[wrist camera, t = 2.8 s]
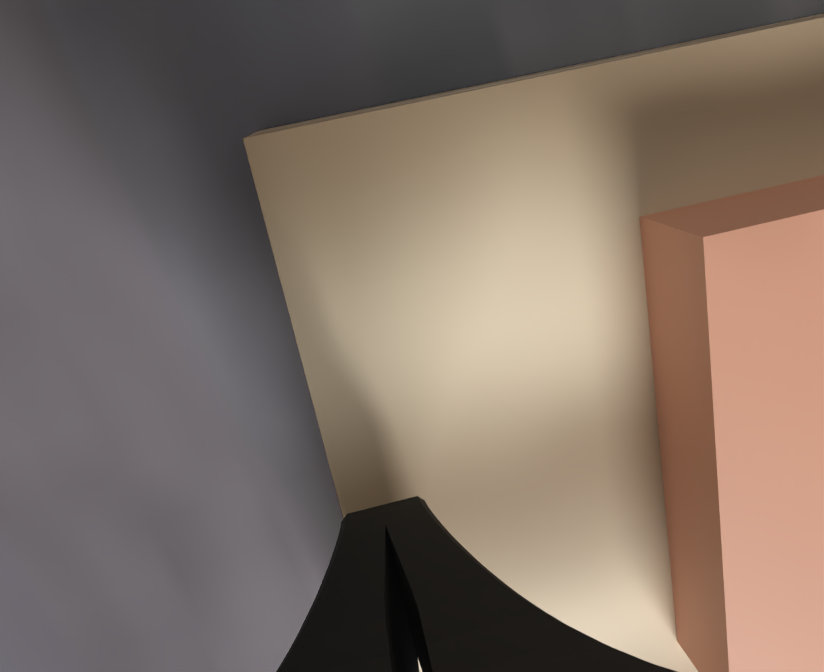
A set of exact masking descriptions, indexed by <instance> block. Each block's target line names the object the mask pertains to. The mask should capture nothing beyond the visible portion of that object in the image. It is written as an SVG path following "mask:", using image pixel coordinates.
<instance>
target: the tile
mask: <svg viewBox="0 0 824 672" xmlns="http://www.w3.org/2000/svg"><path fill="white" fill-rule="evenodd" d="M639 218H640V229H641V240H642V252H643V263H644V274H645V285H646V297H647V308H648V319H649V330H650V342H651V353H652V364H653V375H654V387H655V398H656V409H657V420H658V431H659V443H660V454H661V465H662V476H663V488H664V499H665V510H666V521H667V533H668V544H669V555H670V566H671V578H672V589H673V600H674V611H675V623H676V634H677V642H678V643H679V645H680V646H681V648H682V649H683V651H684V652H685V653H686V655H687V656H688V658H689V659H690V660H691V662H692V663H693V665H694V666H695V668H696V669H697V670H698V672H824V175H821V176H817V177H813V178H808V179H804V180H799V181H795V182H791V183H786V184H782V185H777V186H773V187H769V188H764V189H760V190H755V191H751V192H747V193H742V194H738V195H733V196H729V197H724V198H720V199H716V200H711V201H707V202H702V203H698V204H694V205H689V206H685V207H680V208H676V209H672V210H667V211H663V212H658V213H654V214H650V215H645V216H641V217H639Z"/></svg>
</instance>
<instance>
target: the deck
mask: <svg viewBox="0 0 824 672" xmlns="http://www.w3.org/2000/svg"><path fill="white" fill-rule="evenodd" d="M243 141H244V145H245V149H246V153H247V156H248V160H249V164H250V168H251V171H252V175H253V179H254V183H255V187H256V190H257V194H258V198H259V202H260V206H261V209H262V213H263V217H264V221H265V224H266V228H267V232H268V236H269V240H270V243H271V247H272V251H273V255H274V258H275V262H276V266H277V270H278V274H279V277H280V281H281V285H282V289H283V292H284V296H285V300H286V304H287V308H288V311H289V315H290V319H291V323H292V326H293V330H294V334H295V338H296V342H297V345H298V349H299V353H300V357H301V360H302V364H303V368H304V372H305V376H306V379H307V383H308V387H309V391H310V395H311V398H312V402H313V406H314V410H315V413H316V417H317V421H318V425H319V429H320V432H321V436H322V440H323V444H324V447H325V451H326V455H327V459H328V463H329V466H330V470H331V474H332V478H333V481H334V485H335V489H336V493H337V497H338V500H339V504H340V508H341V512H342V515H343V519H344V517H345V516H346V515H347V514H348V513H352V512H356V511H360V510H364V509H368V508H372V507H376V506H380V505H384V504H388V503H392V502H395V501H399V500H403V499H407V498H411V497H415V496H418V497H420V498H422V499H423V500H425V502H426V504H427V505H428V507H429V508H430V510H431V511H432V512H433V514H434V515H435V516H436V518H437V519H438V520H439V521H440V522H441V524H442V525H443V526H444V527H445V528H446V529H447V530H448V532H449V533H450V534H451V535H452V536H453V537H454V538H455V539H456V540H457V541H458V542H459V543H460V544H461V545H462V546H463V547H464V548H465V549H466V550H467V551H468V552H469V553H470V554H471V555H472V556H473V557H475V558H476V559H477V560H478V561H479V562H480V563H481V564H482V565H483V566H485V567H486V568H487V569H488V570H489V571H490V572H492V573H493V574H494V575H495V576H496V577H498V578H499V579H500V580H501V581H503V582H504V583H505V584H506V585H508V586H509V587H510V588H512V589H513V590H514V591H516V592H517V593H518V594H520V595H521V596H522V597H524V598H525V599H527V600H528V601H530V602H531V603H533V604H534V605H536V606H537V607H539V608H540V609H542V610H543V611H545V612H546V613H548V614H550V615H551V616H553V617H555V618H556V619H558V620H560V621H561V622H563V623H565V624H566V625H568V626H570V627H572V628H574V629H576V630H578V631H580V632H582V633H584V634H586V635H588V636H590V637H592V638H594V639H596V640H598V641H600V642H602V643H604V644H606V645H608V646H610V647H613V648H615V649H617V650H620V651H622V652H625V653H627V654H630V655H632V656H635V657H637V658H640V659H642V660H644V661H647V662H650V663H652V664H655V665H658V666H661V667H665V668H668V669H671V670H674V671H677V672H698V670H697V669H696V668H695V666H694V665H693V663H692V662H691V660H690V659H689V658H688V656H687V655H686V653H685V652H684V651H683V649H682V648H681V646H680V645H679V643H678V642H677V634H676V623H675V611H674V600H673V589H672V578H671V566H670V555H669V544H668V533H667V521H666V510H665V499H664V488H663V476H662V465H661V454H660V443H659V431H658V420H657V409H656V398H655V387H654V375H653V364H652V353H651V342H650V330H649V319H648V308H647V297H646V285H645V274H644V263H643V252H642V240H641V229H640V218H639V217H641V216H645V215H650V214H654V213H658V212H663V211H667V210H672V209H676V208H680V207H685V206H689V205H694V204H698V203H702V202H707V201H711V200H716V199H720V198H724V197H729V196H733V195H738V194H742V193H747V192H751V191H755V190H760V189H764V188H769V187H773V186H777V185H782V184H786V183H791V182H795V181H799V180H804V179H808V178H813V177H817V176H821V175H824V13H822V14H817V15H812V16H808V17H803V18H798V19H793V20H788V21H784V22H779V23H774V24H769V25H764V26H760V27H755V28H750V29H745V30H740V31H736V32H731V33H726V34H721V35H716V36H711V37H707V38H702V39H697V40H692V41H687V42H683V43H678V44H673V45H668V46H663V47H659V48H654V49H649V50H644V51H639V52H635V53H630V54H625V55H620V56H615V57H611V58H606V59H601V60H596V61H591V62H587V63H582V64H577V65H572V66H567V67H563V68H558V69H553V70H548V71H543V72H538V73H534V74H529V75H524V76H519V77H514V78H510V79H505V80H500V81H495V82H490V83H486V84H481V85H476V86H471V87H466V88H462V89H457V90H452V91H447V92H442V93H438V94H433V95H428V96H423V97H418V98H414V99H409V100H404V101H399V102H394V103H389V104H385V105H380V106H375V107H370V108H365V109H361V110H356V111H351V112H346V113H341V114H337V115H332V116H327V117H322V118H317V119H313V120H308V121H303V122H298V123H293V124H289V125H284V126H279V127H274V128H269V129H265V130H260V131H257V132H255V133H253V134H251V135H249V136H247V137H245V138H243ZM418 664H419V672H422V669H421V666H420V663H419V660H418Z"/></svg>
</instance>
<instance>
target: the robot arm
mask: <svg viewBox="0 0 824 672" xmlns="http://www.w3.org/2000/svg"><path fill="white" fill-rule="evenodd" d="M418 660H419V663H420V666H421V669H422V672H677V671H674V670H671V669H668V668H665V667H661V666H658V665H655V664H652V663H650V662H647V661H644V660H642V659H640V658H637V657H635V656H632V655H630V654H627V653H625V652H622V651H620V650H617V649H615V648H613V647H610V646H608V645H606V644H604V643H602V642H600V641H598V640H596V639H594V638H592V637H590V636H588V635H586V634H584V633H582V632H580V631H578V630H576V629H574V628H572V627H570V626H568V625H566V624H565V623H563V622H561V621H560V620H558V619H556V618H555V617H553V616H551V615H550V614H548V613H546V612H545V611H543V610H542V609H540V608H539V607H537V606H536V605H534V604H533V603H531V602H530V601H528V600H527V599H525V598H524V597H522V596H521V595H520V594H518V593H517V592H516V591H514V590H513V589H512V588H510V587H509V586H508V585H506V584H505V583H504V582H503V581H501V580H500V579H499V578H498V577H496V576H495V575H494V574H493V573H492V572H490V571H489V570H488V569H487V568H486V567H485V566H483V565H482V564H481V563H480V562H479V561H478V560H477V559H476V558H475V557H473V556H472V555H471V554H470V553H469V552H468V551H467V550H466V549H465V548H464V547H463V546H462V545H461V544H460V543H459V542H458V541H457V540H456V539H455V538H454V537H453V536H452V535H451V534H450V533H449V532H448V530H447V529H446V528H445V527H444V526H443V525H442V524H441V522H440V521H439V520H438V519H437V518H436V516H435V515H434V514H433V512H432V511H431V510H430V508H429V507H428V505H427V504H426V502H425V500H423V499H422V498H420V497H418V496H415V497H411V498H407V499H403V500H399V501H395V502H392V503H388V504H384V505H380V506H376V507H372V508H368V509H364V510H360V511H356V512H352V513H348V514H347V515H346V516H345V517H344V519H343V520H342V523H341V528H340V532H339V536H338V539H337V543H336V546H335V549H334V552H333V555H332V558H331V561H330V564H329V566H328V569H327V571H326V574H325V576H324V579H323V581H322V584H321V586H320V589H319V591H318V594H317V596H316V598H315V600H314V602H313V605H312V607H311V609H310V611H309V613H308V615H307V617H306V619H305V621H304V623H303V625H302V627H301V629H300V631H299V633H298V635H297V637H296V639H295V641H294V643H293V644H292V646H291V648H290V650H289V652H288V653H287V655H286V657H285V658H284V660H283V662H282V663H281V665H280V667H279V668H278V670H277V672H419V664H418Z"/></svg>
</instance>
